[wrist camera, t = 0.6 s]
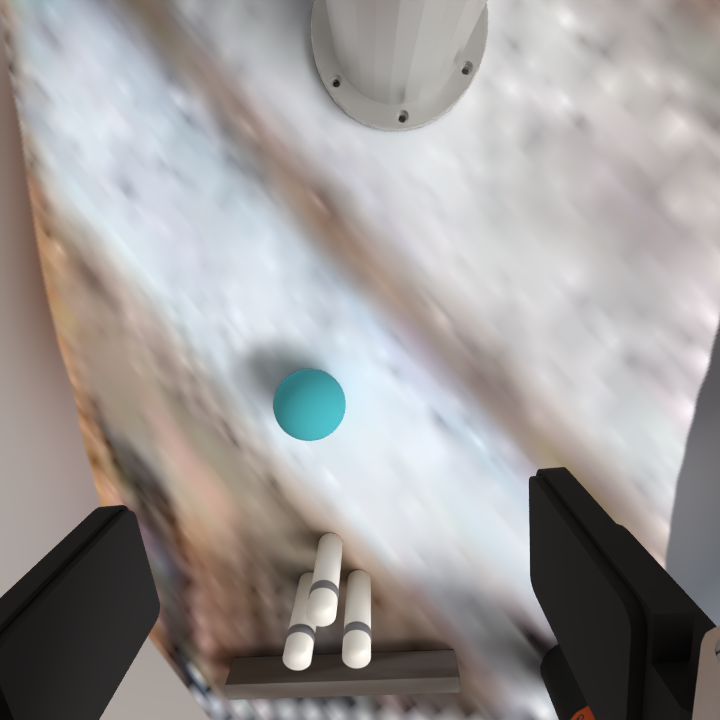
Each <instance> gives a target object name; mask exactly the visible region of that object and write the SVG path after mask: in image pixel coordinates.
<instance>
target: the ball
mask: <svg viewBox="0 0 720 720" xmlns="http://www.w3.org/2000/svg"><path fill="white" fill-rule="evenodd" d="M345 407H346V406H345V396H344V392H343V390H342V388H341V386H340V384H339V383H338V382H337V381H336V379H334V378H333V377H332V376H331V375H329V374H328V373H326V372H324V371H321V370H317V369H302V370H299V371H296V372H294V373H292V374H290V375H289V376H287V377H286V378H285V379H284V380H283V381H282V382H281V384H280V385H279V387H278V388H277V390H276V393H275V396H274V403H273V408H274V414H275V417H276V420H277V422H278V424H279V425H280V427H281V428H282V429H283V430H284V431H285V432H286V433H287V434H289V435H290V436H292V437H294V438H296V439H300V440H305V441H314V440H319V439H322V438H324V437H326V436H328V435H329V434H331V433H332V432H333V431H334V430H335V429H336V428H337V427H338V426H339V424H340V423H341V421H342V419H343V416H344V413H345Z"/></svg>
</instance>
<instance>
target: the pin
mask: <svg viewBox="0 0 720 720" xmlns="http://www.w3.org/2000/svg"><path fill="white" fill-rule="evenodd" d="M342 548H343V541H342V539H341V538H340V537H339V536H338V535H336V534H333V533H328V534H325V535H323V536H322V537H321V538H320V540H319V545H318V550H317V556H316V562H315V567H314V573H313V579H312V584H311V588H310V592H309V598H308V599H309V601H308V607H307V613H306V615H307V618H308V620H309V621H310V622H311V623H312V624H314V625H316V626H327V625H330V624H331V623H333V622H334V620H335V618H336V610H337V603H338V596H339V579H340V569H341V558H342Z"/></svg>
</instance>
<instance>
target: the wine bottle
mask: <svg viewBox="0 0 720 720" xmlns="http://www.w3.org/2000/svg"><path fill="white" fill-rule="evenodd" d="M541 676H542V678H543V681H544V683H545V686H546V688H547V691H548V693H549V696H550V698H551V701H552V703H553V706H554V708H555V711H556V713H557V716H558V718H559V720H595V718H594V716H593V714H592V712H591V710H590V708H589V706H588V704H587V702H586V700H585V697H584V695H583V693H582V691H581V689H580V687H579V685H578V683H577V681H576V679H575V677H574V674H573V672H572V670H571V668H570V666H569V664H568V662H567V660H566V658H565V656H564V654H563V652H562V649H561V647H560V645H559V644H558V645H557V646H555V647H554V648H552V649H551V650H550V651H549V652H548V653H547V654H546V656H545V657H544V658H543V661H542V664H541Z"/></svg>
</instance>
